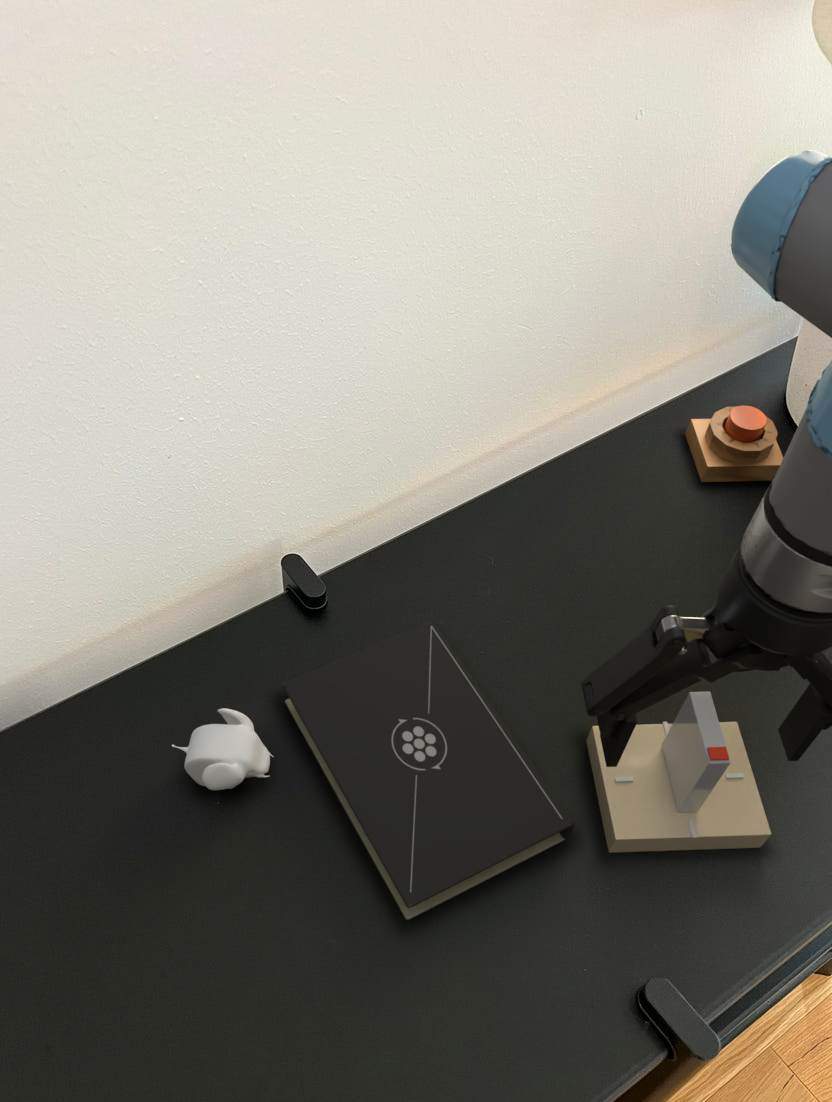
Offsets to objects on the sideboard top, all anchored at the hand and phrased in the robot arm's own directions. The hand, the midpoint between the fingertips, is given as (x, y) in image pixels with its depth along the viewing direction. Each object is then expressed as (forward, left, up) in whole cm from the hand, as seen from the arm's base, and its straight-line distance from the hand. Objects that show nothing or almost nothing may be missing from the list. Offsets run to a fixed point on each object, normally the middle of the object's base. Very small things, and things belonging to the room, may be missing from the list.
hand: (697, 748), depth 74 cm
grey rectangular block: (0, 0, -5) cm, 5 cm away
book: (+20, -3, -7) cm, 22 cm away
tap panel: (0, 0, -7) cm, 7 cm away
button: (-15, -38, -3) cm, 41 cm away
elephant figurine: (+36, -3, -7) cm, 37 cm away
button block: (-15, -38, -7) cm, 41 cm away
